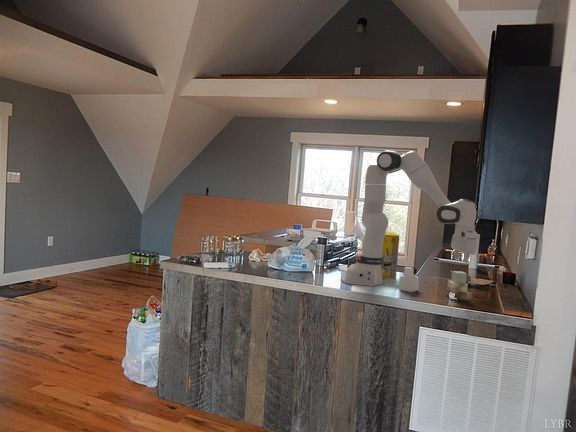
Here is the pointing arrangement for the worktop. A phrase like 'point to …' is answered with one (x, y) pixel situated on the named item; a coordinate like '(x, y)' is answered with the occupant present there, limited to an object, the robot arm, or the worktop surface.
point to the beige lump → (458, 294)
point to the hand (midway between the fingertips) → (461, 260)
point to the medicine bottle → (409, 280)
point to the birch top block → (457, 286)
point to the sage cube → (459, 277)
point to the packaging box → (390, 255)
